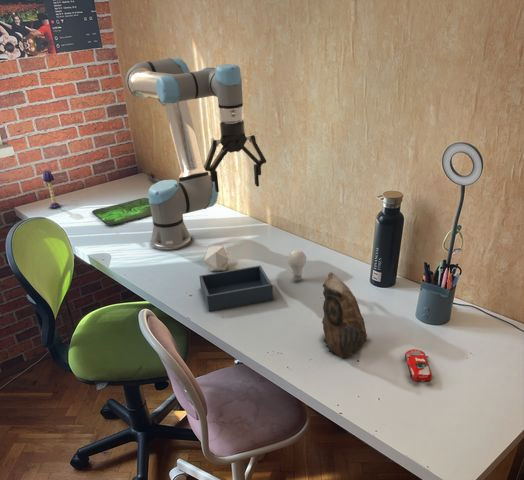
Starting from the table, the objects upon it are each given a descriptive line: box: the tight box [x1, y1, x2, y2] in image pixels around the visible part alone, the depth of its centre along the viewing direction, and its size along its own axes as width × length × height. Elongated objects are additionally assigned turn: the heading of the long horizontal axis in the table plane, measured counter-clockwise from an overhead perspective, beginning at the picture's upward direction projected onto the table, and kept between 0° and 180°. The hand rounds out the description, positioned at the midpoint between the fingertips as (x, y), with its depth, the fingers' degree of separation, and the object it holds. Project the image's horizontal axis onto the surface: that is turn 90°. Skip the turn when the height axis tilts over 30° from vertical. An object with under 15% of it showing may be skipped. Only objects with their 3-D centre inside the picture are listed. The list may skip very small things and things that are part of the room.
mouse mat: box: [91, 197, 152, 226], centre depth 252 cm, size 27×22×1 cm
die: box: [204, 246, 230, 272], centre depth 201 cm, size 8×9×10 cm
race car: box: [404, 348, 433, 384], centre depth 149 cm, size 13×5×4 cm, turn 177°
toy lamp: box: [42, 169, 61, 210], centre depth 257 cm, size 5×5×17 cm
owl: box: [321, 271, 368, 359], centre depth 156 cm, size 13×13×20 cm
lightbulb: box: [287, 249, 307, 282], centre depth 190 cm, size 6×6×11 cm
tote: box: [198, 265, 274, 312], centre depth 186 cm, size 15×21×6 cm
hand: (237, 188), depth 187 cm, fingers open, 13 cm apart
